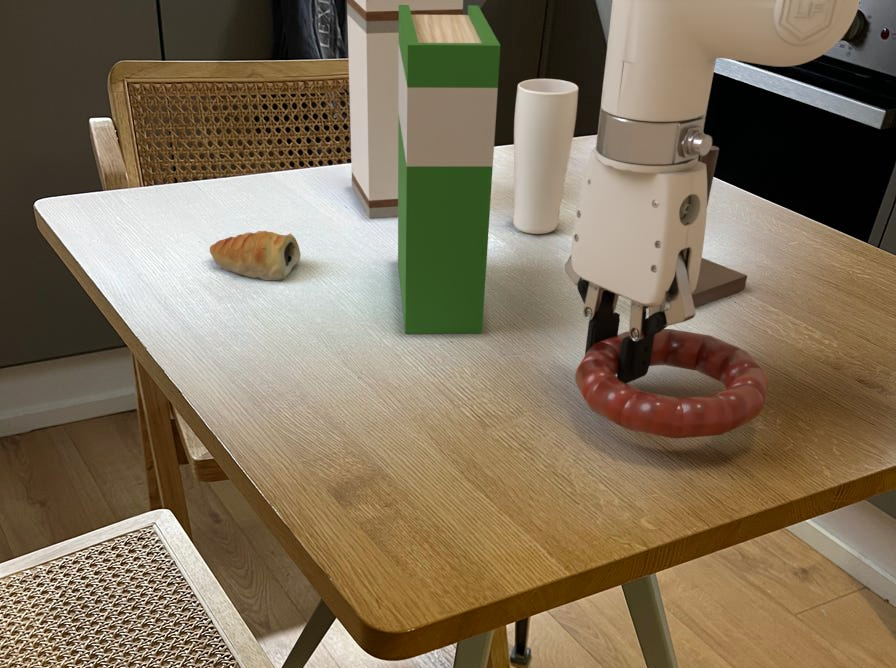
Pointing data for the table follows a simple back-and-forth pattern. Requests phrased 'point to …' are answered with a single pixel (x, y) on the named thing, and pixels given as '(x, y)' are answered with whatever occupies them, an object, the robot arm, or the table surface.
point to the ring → (669, 412)
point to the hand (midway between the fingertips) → (615, 368)
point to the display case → (379, 96)
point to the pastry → (257, 254)
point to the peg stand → (713, 276)
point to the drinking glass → (542, 151)
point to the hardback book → (445, 167)
